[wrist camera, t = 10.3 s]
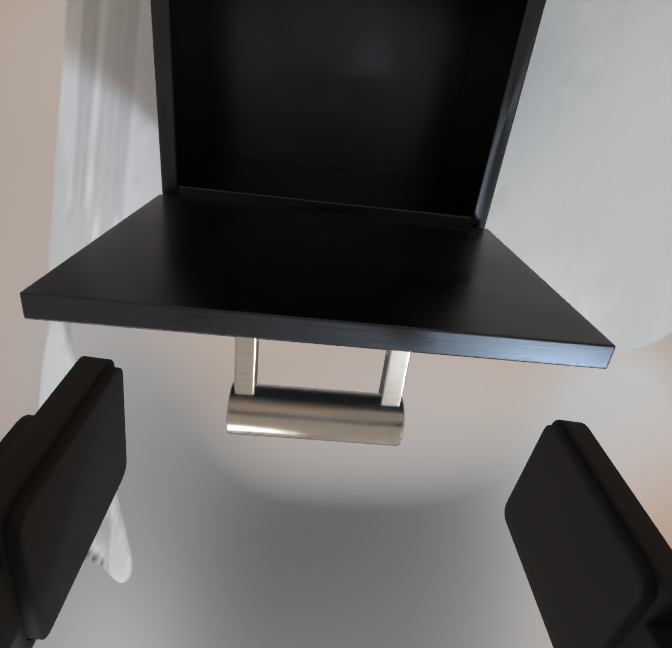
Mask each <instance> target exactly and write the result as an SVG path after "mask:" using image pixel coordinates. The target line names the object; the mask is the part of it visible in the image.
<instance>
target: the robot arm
mask: <svg viewBox="0 0 672 648" xmlns="http://www.w3.org/2000/svg"><path fill="white" fill-rule="evenodd" d="M125 469H126V437H125V414H124V391H123V372H122V369H121V368H117V367H114V362H113V361H112V360H110V359H102V358H94V357H87V356H83V357H81V358H80V359H79V360H78V361H77V362H76V363H75V365H74V366H73V367H72V368H71V370H70V371H69V372H68V374H67V375H66V376H65V377H64V379H63V380H62V381H61V382H60V384H59V385H58V386H57V387H56V389H55V390H54V391H53V393H52V394H51V395H50V396H49V398H48V399H47V400H46V401H45V403H44V404H43V405H42V406H41V408H40V409H39V410H38V412H37V413H36V414H35V415H26V416H23V417H22V418H21V419H20V420H19V421H17V422H16V424H15V425H14V426H13V427H12V428H11V430H10V431H9V432H8V433H7V434H6V436H5V437H4V438H3V439H2V441H1V442H0V648H32V647H33V645H34V643H35V641H36V639H41V640H43V639H45V638H46V637H47V636H48V634H49V633H50V631H51V629H52V627H53V625H54V623H55V621H56V619H57V617H58V614H59V612H60V610H61V608H62V606H63V604H64V602H65V599H66V597H67V595H68V593H69V591H70V589H71V587H72V585H73V582H74V580H75V578H76V576H77V574H78V572H79V570H80V568H81V565H82V563H83V561H84V559H85V557H86V555H87V553H88V551H89V549H90V547H91V544H92V542H93V540H94V538H95V536H96V534H97V532H98V530H99V527H100V525H101V523H102V521H103V519H104V517H105V515H106V513H107V510H108V508H109V506H110V504H111V502H112V500H113V498H114V496H115V493H116V491H117V489H118V487H119V485H120V483H121V481H122V478H123V476H124V473H125ZM505 520H506V523H507V526H508V528H509V531H510V534H511V536H512V538H513V542H514V544H515V547H516V549H517V552H518V555H519V557H520V560H521V563H522V565H523V568H524V571H525V573H526V576H527V579H528V581H529V584H530V587H531V589H532V592H533V595H534V597H535V600H536V603H537V605H538V608H539V610H540V613H541V616H542V618H543V621H544V624H545V627H546V629H547V632H548V634H549V637H550V640H551V642H552V645H553V647H554V648H672V549H671V548H670V547H669V545H668V544H667V542H666V541H665V539H664V538H663V536H662V535H661V533H660V532H659V530H658V529H657V527H656V526H655V525H654V523H653V522H652V520H651V519H650V517H649V516H648V514H647V513H646V511H645V510H644V509H643V507H642V506H641V504H640V503H639V501H638V500H637V498H636V497H635V495H634V494H633V492H632V491H631V490H630V488H629V487H628V485H627V484H626V482H625V481H624V479H623V478H622V476H621V475H620V473H619V472H618V470H617V469H616V468H615V466H614V465H613V463H612V462H611V460H610V459H609V457H608V456H607V454H606V453H605V452H604V450H603V449H602V447H601V446H600V444H599V443H598V441H597V440H596V438H595V437H594V435H593V434H592V432H591V431H590V430H589V428H588V427H587V426H586V425H585V424H583V423H579V422H571V421H565V420H556V421H554V422H553V424H552V425H548V426H546V427H545V429H544V431H543V432H542V434H541V436H540V438H539V440H538V442H537V444H536V446H535V448H534V450H533V452H532V454H531V456H530V458H529V460H528V462H527V464H526V466H525V468H524V470H523V472H522V474H521V476H520V478H519V480H518V481H517V484H516V486H515V488H514V489H513V491H512V494H511V495H510V497H509V499H508V501H507V503H506V506H505Z"/></svg>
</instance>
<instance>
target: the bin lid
mask: <svg viewBox="0 0 672 648" xmlns="http://www.w3.org/2000/svg"><path fill="white" fill-rule="evenodd" d="M20 297H21V302H22V307H23V313H24V317H25V318H26V319H35V320H46V321H58V322H70V323H81V324H94V325H104V326H117V327H127V328H139V329H151V330H163V331H175V332H186V333H197V334H209V335H220V336H233V337H235V379H234V382H233V384H232V386H231V390H230V394H229V400H228V407H227V420H226V422H227V423H226V426H227V432H228V433H229V434H241V435H255V436H269V437H282V438H296V439H310V440H324V441H337V442H352V443H365V444H379V445H392V446H397V445H399V444H400V442H401V439H402V435H403V428H404V403H403V399H402V393H403V388H404V383H405V379H406V374H407V369H408V364H409V359H410V354H411V352H417V353H428V354H440V355H452V356H464V357H475V358H487V359H498V360H510V361H521V362H533V363H545V364H556V365H567V366H579V367H591V368H603V369H606V368H607V366H608V364H609V362H610V359H611V357H612V355H613V352H614V350H615V345H614V344H613V343H612V342H610V341H609V340H608V339H607V338H606V337H605V336H604V335H603V334H602V333H601V332H600V331H598V330H597V329H596V328H595V327H594V326H593V325H592V324H591V323H590V322H589V321H588V320H586V319H585V318H584V317H583V316H582V315H581V314H580V313H579V312H578V311H577V310H575V309H574V308H573V307H572V306H571V305H570V304H569V303H568V302H567V301H566V300H565V299H563V298H562V297H561V296H560V295H559V294H558V293H557V292H556V291H555V290H554V289H552V288H551V287H550V286H549V285H548V284H547V283H546V282H545V281H544V280H543V279H542V278H540V277H539V276H538V275H537V274H536V273H535V272H534V271H533V270H532V269H531V268H529V267H528V266H527V265H526V264H525V263H524V262H523V261H522V260H521V259H520V258H519V257H517V256H516V255H515V254H514V253H513V252H512V251H511V250H510V249H509V248H508V247H506V246H505V245H504V244H503V243H502V242H501V241H500V240H499V239H498V238H497V237H496V236H494V235H493V234H492V233H491V232H490V231H489V230H488V229H483V228H473V227H464V226H454V225H445V224H435V223H426V222H416V221H407V220H397V219H388V218H378V217H369V216H359V215H350V214H340V213H331V212H321V211H312V210H302V209H293V208H283V207H274V206H264V205H255V204H245V203H236V202H226V201H217V200H207V199H198V198H188V197H179V196H169V195H158V196H157V197H156V198H154V199H153V200H151V201H150V202H148V203H147V204H146V205H144V206H143V207H141V208H140V209H138V210H137V211H136V212H134V213H133V214H131V215H130V216H128V217H127V218H126V219H124V220H123V221H121V222H120V223H118V224H117V225H116V226H114V227H113V228H111V229H110V230H109V231H107V232H106V233H104V234H103V235H101V236H100V237H99V238H97V239H96V240H94V241H93V242H91V243H90V244H89V245H87V246H86V247H84V248H83V249H81V250H80V251H79V252H77V253H76V254H74V255H73V256H71V257H70V258H69V259H67V260H66V261H64V262H63V263H61V264H60V265H59V266H57V267H56V268H54V269H53V270H52V271H50V272H49V273H47V274H46V275H45V276H43V277H42V278H40V279H39V280H37V281H36V282H34V283H33V284H32V285H30V286H29V287H27V288H26V289H24V290H23V291H22V292H20ZM259 339H267V340H278V341H290V342H301V343H314V344H325V345H336V346H348V347H360V348H371V349H382V350H386V355H385V360H384V366H383V371H382V377H381V383H380V388H379V393H369V392H356V391H344V390H331V389H318V388H306V387H294V386H280V385H269V384H257V372H258V371H257V370H258V350H259Z"/></svg>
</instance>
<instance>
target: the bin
mask: <svg viewBox="0 0 672 648" xmlns="http://www.w3.org/2000/svg"><path fill="white" fill-rule="evenodd" d="M545 2H546V0H151V16H152V32H153V48H154V64H155V80H156V96H157V112H158V128H159V144H160V160H161V176H162V192H163V195H169V196H179V197H188V198H198V199H207V200H217V201H226V202H236V203H245V204H255V205H264V206H274V207H283V208H293V209H302V210H312V211H321V212H331V213H340V214H350V215H359V216H369V217H378V218H388V219H397V220H407V221H416V222H426V223H435V224H445V225H454V226H464V227H473V228H483V229H484V228H485V224H486V220H487V216H488V213H489V209H490V205H491V202H492V198H493V194H494V191H495V187H496V183H497V180H498V176H499V172H500V168H501V165H502V161H503V157H504V154H505V150H506V146H507V143H508V139H509V135H510V132H511V128H512V124H513V120H514V117H515V113H516V109H517V106H518V102H519V98H520V95H521V91H522V87H523V84H524V80H525V76H526V72H527V69H528V65H529V61H530V58H531V54H532V50H533V47H534V43H535V39H536V36H537V32H538V28H539V24H540V21H541V17H542V13H543V10H544V6H545Z"/></svg>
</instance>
